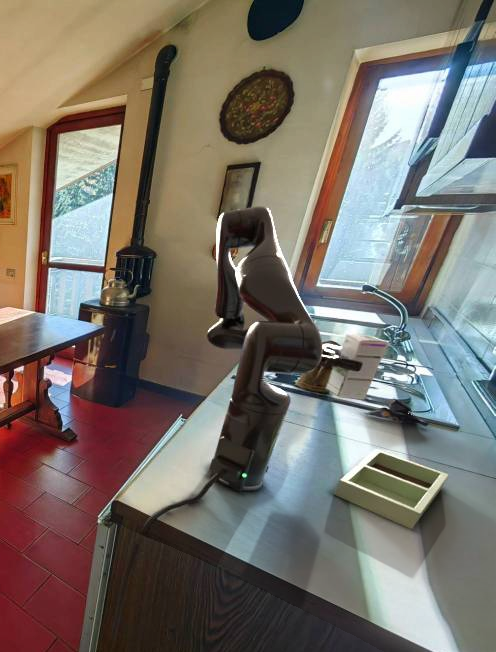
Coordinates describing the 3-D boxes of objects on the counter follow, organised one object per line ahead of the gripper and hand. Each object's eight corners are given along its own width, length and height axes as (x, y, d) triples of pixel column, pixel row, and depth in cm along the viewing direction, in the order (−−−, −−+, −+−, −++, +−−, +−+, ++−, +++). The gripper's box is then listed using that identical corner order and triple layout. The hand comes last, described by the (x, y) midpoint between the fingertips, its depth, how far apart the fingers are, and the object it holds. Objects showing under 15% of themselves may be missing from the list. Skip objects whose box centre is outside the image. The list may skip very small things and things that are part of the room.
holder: (411, 529, 69) (420, 513, 67) (333, 494, 77) (339, 479, 76) (441, 488, 79) (449, 474, 78) (369, 462, 88) (375, 448, 87)
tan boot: (293, 391, 125) (313, 337, 118) (297, 380, 134) (315, 329, 127) (329, 399, 119) (351, 343, 112) (330, 387, 129) (351, 334, 122)
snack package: (366, 406, 115) (360, 417, 108) (379, 388, 112) (375, 398, 105) (419, 427, 108) (418, 440, 101) (436, 408, 105) (435, 420, 98)
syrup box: (365, 400, 93) (391, 341, 87) (337, 397, 94) (361, 339, 88) (349, 390, 98) (373, 335, 92) (323, 388, 99) (345, 333, 93)
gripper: (280, 335, 98) (363, 353, 86) (304, 329, 106) (384, 344, 93) (271, 363, 101) (350, 384, 89) (295, 355, 109) (371, 373, 96)
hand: (367, 364), depth 91 cm, fingers closed on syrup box, 8 cm apart
